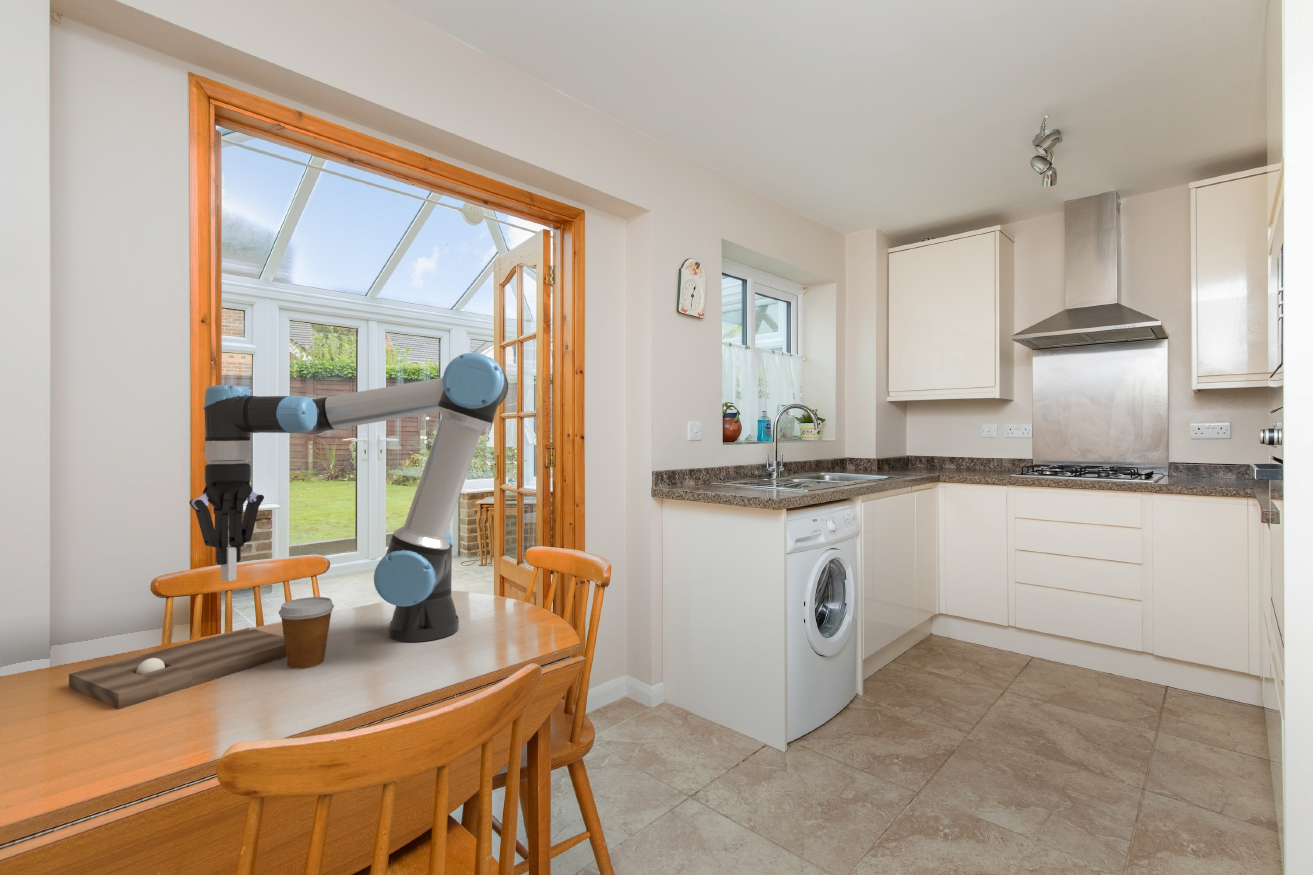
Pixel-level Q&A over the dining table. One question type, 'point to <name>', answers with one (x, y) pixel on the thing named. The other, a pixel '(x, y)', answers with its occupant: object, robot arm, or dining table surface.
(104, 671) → the hole board
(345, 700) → the dining table surface
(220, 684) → the dining table surface
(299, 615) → the disposable coffee cup
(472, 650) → the dining table surface
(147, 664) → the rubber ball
